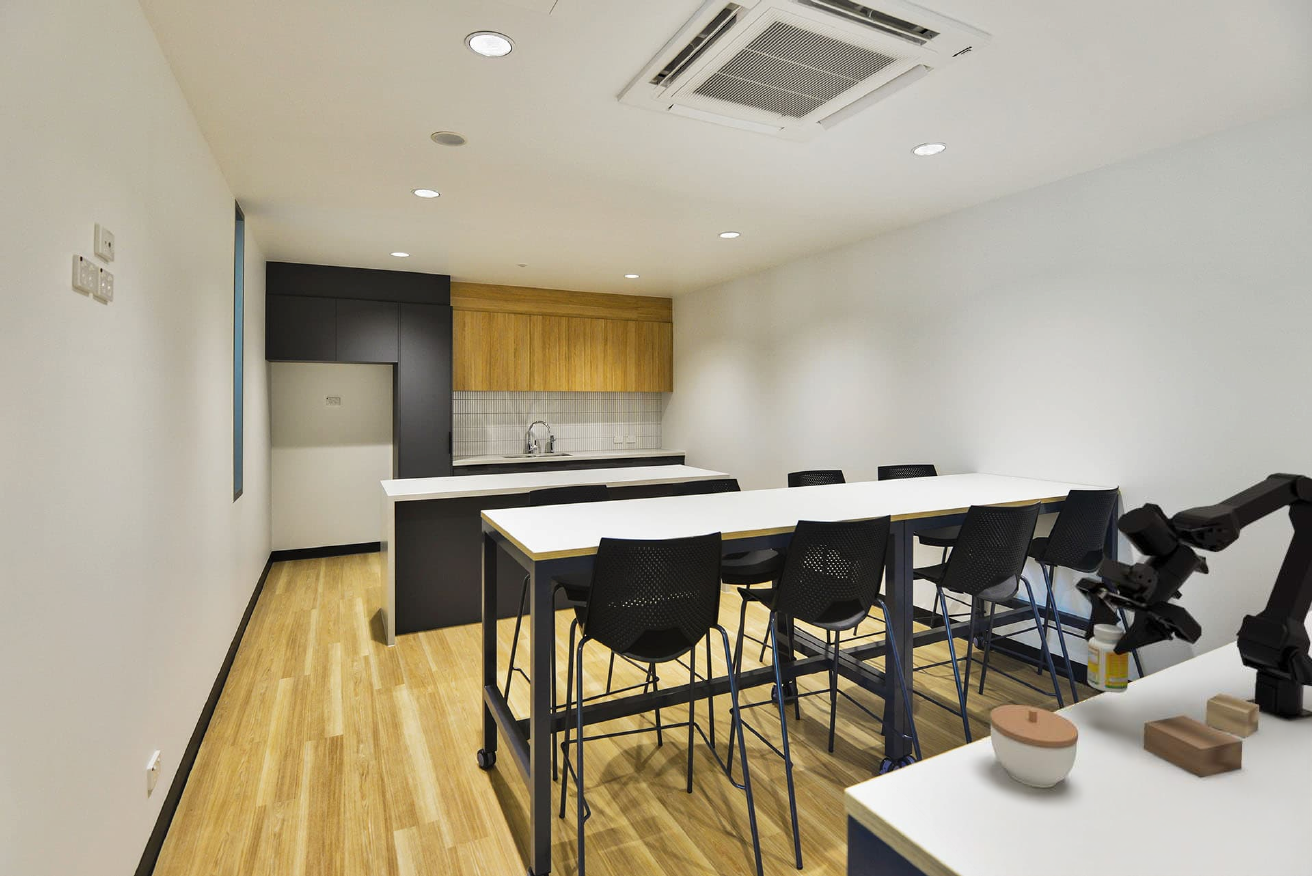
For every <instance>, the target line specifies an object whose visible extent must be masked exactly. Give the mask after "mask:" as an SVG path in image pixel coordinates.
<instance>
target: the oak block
mask: <svg viewBox="0 0 1312 876" xmlns="http://www.w3.org/2000/svg"><path fill="white" fill-rule="evenodd" d="M1259 715H1260V710H1259V705H1257V704H1254V703H1250V702H1247V701H1246V700H1242V699H1240V698H1237V697H1234V696H1229V695H1226V694H1223V693H1218V694H1216V695H1215V696H1213V697H1211V698H1209V699H1208V700H1206V715H1205V716H1206V721H1205V725H1207V726H1209V727H1211V728H1214V729H1216V730H1219V731H1222V732H1223V731H1224V732H1225V733H1226V732H1227V733H1230V734H1233V735H1236V736H1239V737H1242V738H1245V739H1247V738H1248V737H1250V736H1251V735H1253V734H1254V733H1256V732H1257V731H1258V730H1259V720H1260V719H1259V717H1260V716H1259Z"/></svg>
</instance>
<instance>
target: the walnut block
mask: <svg viewBox="0 0 1312 876" xmlns="http://www.w3.org/2000/svg"><path fill="white" fill-rule="evenodd" d="M1143 726H1144V727H1143V749H1144V750H1145V751H1147V752H1149V753H1151V754H1153V755H1156V756H1158V757H1159V758H1161V759H1163V760H1165V761H1167V762H1170V763H1171V764H1173V765H1175V766H1177V767H1180V768H1181V769H1183V770H1185V771H1187V772H1190V773H1191V774H1193V775H1195V776H1196V777H1199V778H1202V777H1208V776H1211V775H1216V774H1221V773H1225V772H1230V771H1231V772H1232V771H1234V770H1235V771H1236V770H1240V769H1242V765H1243V763H1242V762H1243V758H1242V757H1243V740H1242V739H1240V738H1237V737H1235V736H1232V735H1230V734H1228V733H1226V732H1223V731H1222V730H1219V729H1217V728H1214V727H1211V726H1208V725H1206V724H1204V723H1202V722H1199V721H1197V720H1195V719H1192V718H1190V717H1188V716H1185V715H1180V716H1175V717H1169V718H1163V719H1157V720H1152V721H1147V722H1144V723H1143Z"/></svg>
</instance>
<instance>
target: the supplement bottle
mask: <svg viewBox="0 0 1312 876" xmlns="http://www.w3.org/2000/svg"><path fill="white" fill-rule="evenodd" d="M1124 634H1125V629H1124V628H1122V627H1121V626H1116V625H1108V624H1097V625H1095V626H1094V635H1095V637H1092V638H1091V639H1090V640H1089V642H1087V643H1088V645H1087V646H1088V648H1087V678H1086V679H1087V683H1088V684H1089V685H1090V686H1091V687H1092V688H1094V689H1096V690H1100V691H1103V692H1106V693H1115V694H1116V693H1119V694H1120V693H1124V692H1126V691H1127V690H1128V687H1129V686H1128V682H1129V680H1128V679H1129V656H1130V655H1129V653H1130V652H1127V653H1124V654H1121V655H1117V654H1115V652H1114V651H1113V649H1114V648H1115V646H1116V644H1117V643H1118V641H1119V640H1120V639H1121V637H1122V636H1123V635H1124Z"/></svg>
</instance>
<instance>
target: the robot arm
mask: <svg viewBox="0 0 1312 876" xmlns="http://www.w3.org/2000/svg"><path fill="white" fill-rule="evenodd" d="M1286 506H1287V507H1289V509H1288V513H1287V514H1288V515H1287V516H1288V518H1289V520H1290V524H1291V526H1292V529H1293V534H1292V538H1291V540H1290V543H1289V545H1288V548H1287V551H1286V553H1285V555H1284V559H1283V561H1282V564H1281V566H1280V568H1279V572H1278V573H1277V577H1276V579H1275V581H1274V585H1273V587H1272V589H1271V592H1270V594H1269V597H1268V600H1267V602H1266V605H1265V607H1264V609H1263V610H1262V611H1261V612H1259V613H1258V614H1255V615H1252V614H1248V613H1247V614H1246V615H1244V617H1243V619H1242V621H1241V626H1240V628H1239V630H1238V631H1237V633H1235V634H1236V635H1235V636H1237V640H1236V648H1238V651H1239V656H1240V658H1241V662H1242V665H1243V666H1244V667H1247V668H1251V669H1254V670H1256V672H1255V683H1254V685H1255V686H1254V699H1246V700H1245V701H1247V702H1250V703H1254V704H1257V705H1259V711H1262V712H1265V713H1267V714H1271V715H1273V716H1276V717H1278V718H1281V719H1283V720H1286V721H1292V720H1297V719H1303V718H1308V717H1312V710H1310V709H1309V710H1308V709H1306V708H1304V688H1305V686H1308V687H1312V657H1311V656H1310V655H1309V652H1310V648H1311V640H1310V637H1309V634H1308V632H1307V628H1306V625H1305V621H1306V618H1307V615H1308V613H1309V610H1310V607H1311V606H1312V478H1311V477H1308V476H1306V475H1305V474H1295V473H1286V472H1285V473H1284V472H1276V473H1272V474H1269V475H1268V476H1267V477H1266V479H1264V480H1262V481H1260V482H1258V483H1256V484H1254V485H1253V486H1250V487H1248V488H1246V489H1244V490H1243V491H1241V492H1238V493H1236V494H1233V496H1229V497H1228V498H1226V499H1224V500H1222V501H1220V502H1218V503H1215V504H1212V505H1206V506H1205V505H1204V506H1194V507H1191V508H1188V509H1184V510H1181V511H1178V512H1176V513H1175V514H1174V515H1173V516H1172V517H1170V518H1169V517H1168V516H1167V515H1166V514H1165V513H1164V510H1163V509H1162V508H1161V506H1159V504H1157V503H1151V502H1145V503H1144V504H1143V506H1142V507H1136V508H1133V509H1131V510H1129V511H1127V512H1126V513H1123V514H1122V515H1120V517H1119V518H1118V520H1117V522H1116V528H1117V530H1118V531H1119V532H1120V533H1121V534H1122V535H1123V536H1124V538H1126V540H1128V542H1129V543H1130V544H1131V545H1132V546H1133V547H1134V548H1135V550H1136V551H1137V552H1138V553H1139V554H1141V555H1143V556H1144V557H1145V556H1146V557H1148V558H1147V559H1146V560H1145V561H1144V563H1142V562H1138V561H1137V562H1135V563H1134V564H1132V565H1131V564H1128V563H1125V562H1121V561H1117V560H1114V559H1110V558H1107V557H1102V560H1101V562H1100V565H1099V567H1098V569H1097V572H1096V574H1095V575H1096V576H1097V577H1098V578H1103V579H1106V580H1107V581H1110V582H1113V583H1112V584H1111V586H1112V588H1114V589H1115V590H1116V591H1118V594H1117V593H1115V592H1114V591H1113V590H1112V589H1111V588H1110V587H1109V586H1108V585H1107V583H1106V582H1104V581H1101V580H1099V579H1096V578H1093V577H1088V576H1087V577H1081V578H1080V580H1079V581H1078V582H1077V583H1076V584H1075V585H1074V587H1075V589H1076V590H1077V591H1078V592H1079V593H1080V594H1081V595H1082V596H1083V597H1084V598H1085V599H1086V601H1087V602H1088V603H1089V604H1090V606H1091V612H1090V616H1089V621H1088V623H1087V627H1086V630H1085V632H1084V633H1085V634H1084V636H1083V637H1084V640H1085V641H1086V642H1087V643H1088V642H1089V640H1090V639H1091V638H1092V637H1095V635H1094V626H1095V625H1097V624H1108V625H1114V626H1116V625H1117V624H1118V623H1119V622H1121V621H1122V619H1121V618H1120V616H1119V615H1118V614H1117V613H1116V612H1117V611H1118V610H1119V608H1120V609H1123V610H1125V611H1128V612H1131V613H1133V622H1132V623H1131V625H1130V626H1129V627H1128V629H1127V630H1126V631H1124V635H1123V636H1122V637H1121V639H1120V640H1119V641H1118V643H1117V644H1116V646H1115V648H1114V649H1113V651H1114V652H1115V654H1117V655H1121V654H1124V653H1127V652H1129V653H1130V652H1131V651H1135V650H1137V649H1141V648H1144V647H1146V646H1150V645H1153V644H1156V643H1159V642H1163V641H1164V642H1165V641H1173V640H1174V636H1175V638H1177V639H1179V640H1180V641H1183V642H1186V643H1189V644H1191V645H1194V644H1196V642H1197V641H1199V639H1200V638H1201V636H1202V635H1203V633H1202V629H1203V628H1202V625H1200V623H1199V622H1198V621H1197V620H1196V619H1195V618H1194V617H1193V616H1192V615H1191V614H1190V613H1189V611H1188V610H1187V609H1186V608H1185V607H1183V606H1180V605H1177V604H1174V603H1171V602H1170V601H1171V599H1175V600H1178V601H1179V600H1180V599H1181V598H1182V597H1183V594H1182V593H1181V592H1180V590H1179V589H1180V588H1181V587H1182V586H1183V585H1184V583H1185V582H1186V581H1187V580H1188V579H1189V578H1190V577H1191V576H1192V575H1193V573H1194V572H1195V573H1199V574H1203V575H1209V573H1210V570H1209V565H1208V563H1207V557H1206V556H1204V555H1203V556H1202V555H1199V554H1197V553H1196V551H1195V550H1194V549H1198V550H1203V551H1207V552H1210V553H1211V552H1213V553H1219V552H1222V551H1224V550H1226V549H1227V548H1228V547H1230V545H1231V544H1233V543H1234V542H1236V541H1237V540H1239V538H1240V534H1241V531H1242V530H1243V529H1244V528H1245V527H1247V526H1249V525H1251V524H1252V523H1255V522H1257V521H1258V520H1261V519H1263V518H1265V517H1266V516H1269V515H1271V514H1272V513H1274V512H1276V511H1279V510H1281V509H1282V508H1284V507H1286ZM1193 548H1194V549H1193ZM1172 634H1173V635H1174V636H1172Z"/></svg>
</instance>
